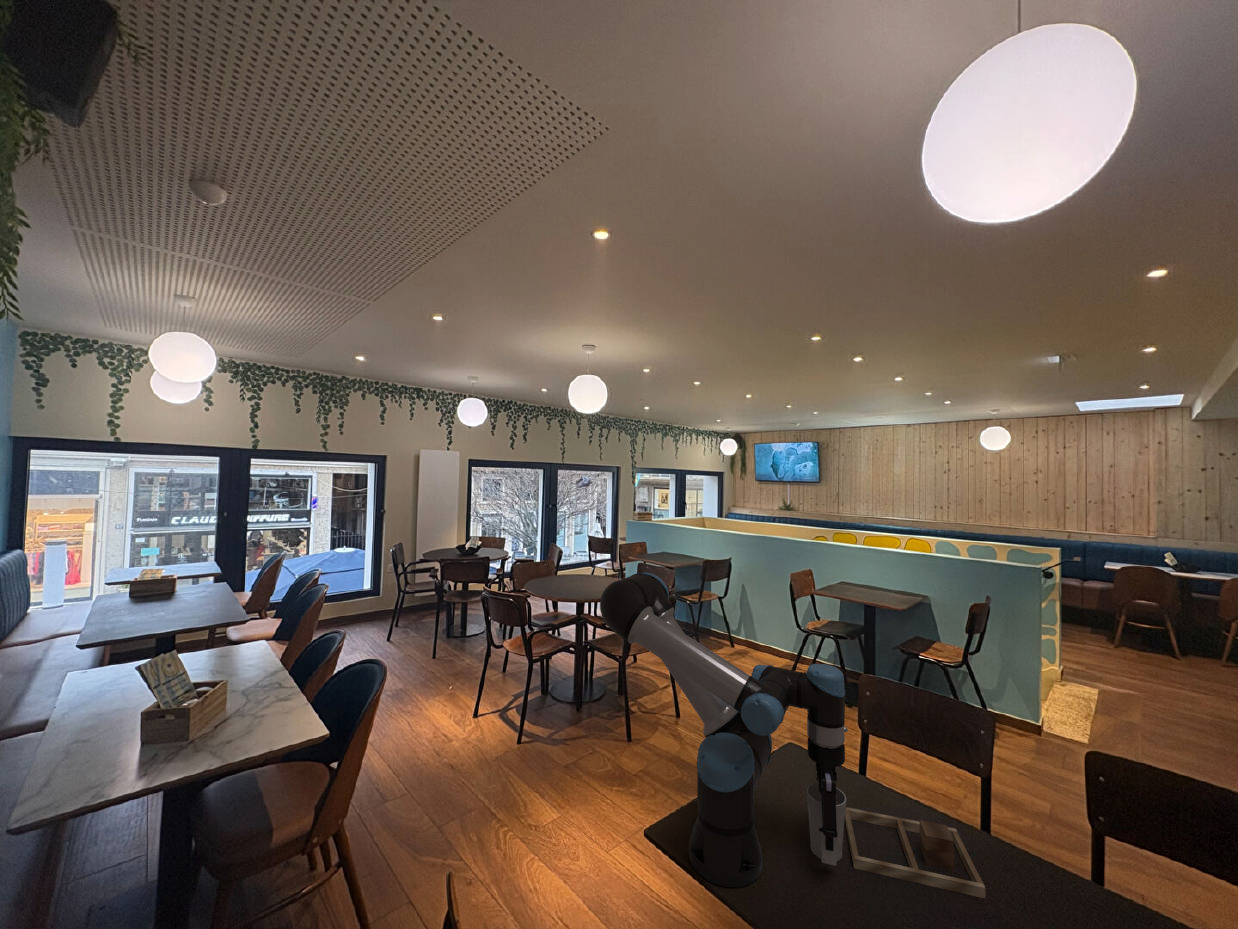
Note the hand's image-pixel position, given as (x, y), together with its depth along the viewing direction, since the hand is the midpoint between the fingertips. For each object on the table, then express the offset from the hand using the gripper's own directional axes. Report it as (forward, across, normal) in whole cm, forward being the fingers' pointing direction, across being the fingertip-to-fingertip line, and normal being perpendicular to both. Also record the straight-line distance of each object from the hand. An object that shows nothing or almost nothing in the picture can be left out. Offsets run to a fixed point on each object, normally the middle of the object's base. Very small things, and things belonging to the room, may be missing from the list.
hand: (826, 841), depth 107 cm
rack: (+2, +5, -16) cm, 17 cm away
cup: (+2, 0, 0) cm, 2 cm away
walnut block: (+2, +5, -22) cm, 23 cm away
